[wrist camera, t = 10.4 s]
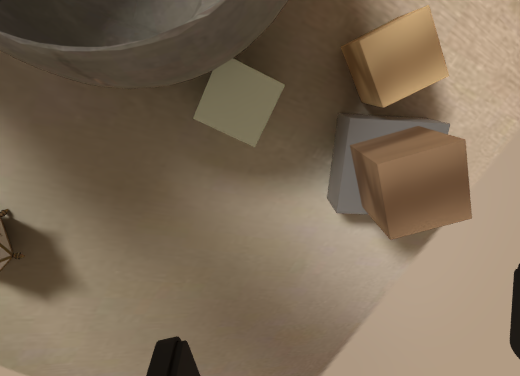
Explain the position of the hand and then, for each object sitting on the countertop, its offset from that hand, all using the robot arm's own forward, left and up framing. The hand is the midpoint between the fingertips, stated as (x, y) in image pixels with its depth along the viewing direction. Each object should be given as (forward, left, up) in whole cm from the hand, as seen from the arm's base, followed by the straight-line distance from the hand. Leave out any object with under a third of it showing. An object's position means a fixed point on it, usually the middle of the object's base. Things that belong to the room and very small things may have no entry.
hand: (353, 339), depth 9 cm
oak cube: (-6, +10, -22) cm, 25 cm away
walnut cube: (+2, +8, -18) cm, 20 cm away
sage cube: (-6, -3, -22) cm, 23 cm away
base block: (+2, +9, -22) cm, 24 cm away
